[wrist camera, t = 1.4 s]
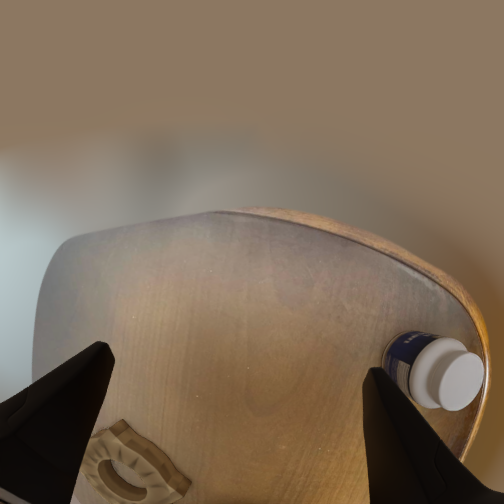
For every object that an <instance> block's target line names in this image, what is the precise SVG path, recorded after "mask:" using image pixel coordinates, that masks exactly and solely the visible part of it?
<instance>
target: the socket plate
mask: <svg viewBox="0 0 504 504" xmlns="http://www.w3.org/2000/svg"><path fill="white" fill-rule="evenodd" d="M110 459H112V460H115V461H118V462H121V463H122V464H124V465H126V466H127V467H129V468H131V469H132V470H133V471H134V472H135V473H136V474H137V475H139V476H140V478H141V479H142V481H143V482H144V484H145V485H146V489H141V488H137V487H134V486H132V485H130V484H128V483H126V482H125V481H124V480H123V479H122V478H120V477H119V476H118V475H117V474H116V472H115V471H114V469H113V467H112V464H111V461H110ZM79 471H80V472H81V473H82V474H83V475H84V476H85V477H86V479H87V480H88V482H89V483H90V484H91V486H92V487H93V489H94V490H95V491H96V492H97V493H99V494H100V495H101V496H102V497H103V498H104V499H105V500H106V501H108V502H109V503H111V504H173V502H175V501H177V500H179V499H181V498H183V497H184V495H185V493H186V492H187V490H188V488H189V486H190V484H191V482H190V481H189V480H188V479H187V478H185V477H184V476H183V475H182V474H180V473H179V472H178V471H177V470H176V469H175V467H174V466H173V464H172V463H171V461H170V460H169V458H168V457H167V456H166V455H165V454H164V453H163V452H162V451H161V450H159V449H158V448H157V447H156V446H155V445H154V444H153V443H152V442H150V441H148V440H146V439H144V438H143V437H141V436H139V435H137V434H136V433H135V432H134V431H133V430H132V429H131V428H130V427H129V425H128V424H127V423H126V422H125V421H124V420H123V419H122V420H121V421H119V422H118V423H116V424H115V425H113V426H112V427H110V428H109V429H105V430H101V431H100V432H98V433H96V434H95V435H93V436H92V437H90V439H89V442H88V445H87V448H86V451H85V454H84V457H83V460H82V464H81V467H80V470H79Z"/></svg>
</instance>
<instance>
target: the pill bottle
mask: <svg viewBox="0 0 504 504" xmlns="http://www.w3.org/2000/svg"><path fill="white" fill-rule="evenodd" d="M382 368H383V369H384V370H385V371H386V372H387V373H388V375H389V376H390V377H391V378H392V379H393V381H394V382H395V383H396V384H397V385H398V387H399V388H400V389H401V390H402V392H403V393H404V394H406V395H407V396H408V397H410V398H411V399H412V400H414V401H415V402H416V403H418V404H420V405H421V406H423V407H426V408H439V407H443V408H444V409H446V410H449V411H457V410H460V409H462V408H464V407H465V406H467V405H468V404H469V403H470V402H471V401H472V400H473V399H474V398H475V396H476V395H477V393H478V391H479V389H480V387H481V384H482V381H483V376H484V368H483V363H482V361H481V359H480V358H479V357H478V356H477V355H476V354H474V353H470V352H468V351H467V349H466V347H465V346H464V345H463V344H462V343H461V342H460V341H458V340H456V339H453V338H449V337H444V336H439V335H434V334H429V333H424V332H419V331H406V332H403V333H401V334H399V335H397V336H396V337H395V338H393V339H392V340H391V341H390V343H389V344H388V345H387V347H386V349H385V351H384V354H383V357H382Z"/></svg>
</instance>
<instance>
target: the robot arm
mask: <svg viewBox="0 0 504 504" xmlns="http://www.w3.org/2000/svg"><path fill="white" fill-rule="evenodd" d="M114 364H115V358H114V355H113V353H112V351H111V349H110V347H109V345H108V344H107V343H105V342H101V341H97V342H95V343H93V344H92V345H90V346H89V347H87V348H86V349H84V350H83V351H81V352H80V353H78V354H77V355H75V356H74V357H72V358H71V359H69V360H68V361H66V362H64V363H63V364H61V365H60V366H58V367H57V368H55V369H54V370H52V371H51V372H49V373H48V374H46V375H45V376H43V377H42V378H40V379H39V380H37V381H36V382H34V383H33V384H31V385H30V386H29V387H27V388H25V389H24V390H22V391H21V392H19V393H17V394H16V395H14V396H13V397H11V398H9V399H7V400H6V401H4V402H2V403H0V504H70V502H71V498H72V494H73V491H74V487H75V484H76V480H77V477H78V473H79V470H80V467H81V464H82V460H83V457H84V454H85V451H86V448H87V445H88V442H89V439H90V437H91V434H92V431H93V428H94V425H95V423H96V420H97V417H98V414H99V412H100V409H101V407H102V404H103V401H104V399H105V396H106V392H107V389H108V385H109V382H110V378H111V374H112V371H113V368H114ZM362 393H363V430H364V439H365V448H366V457H367V467H368V479H369V494H370V504H504V493H501V492H497V491H493V490H491V489H489V488H487V487H486V486H484V485H483V484H482V483H481V482H480V481H479V480H478V479H477V478H476V477H475V476H474V475H473V474H472V473H471V472H470V471H469V470H468V469H467V468H466V467H465V466H464V465H463V464H462V463H461V462H460V461H459V460H458V459H457V458H456V457H455V455H454V454H453V453H452V452H451V451H450V449H449V448H448V447H447V446H446V445H445V443H444V442H443V441H442V440H440V437H439V436H438V435H437V433H436V432H435V431H434V430H433V428H432V427H431V426H430V425H429V423H428V422H427V421H426V420H425V418H424V417H423V416H422V415H421V414H420V412H419V411H418V410H417V409H416V407H415V406H414V405H413V404H412V402H411V401H410V400H409V399H408V398H407V396H406V395H405V394H404V393H403V392H402V390H401V389H400V388H399V387H398V385H397V384H396V383H395V382H394V381H393V379H392V378H391V377H390V376H389V375H388V373H387V372H386V371H385V370H384V369H383V368H382V367H372V368H370V369H369V370H368V373H367V375H366V377H365V379H364V382H363V386H362Z"/></svg>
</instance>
